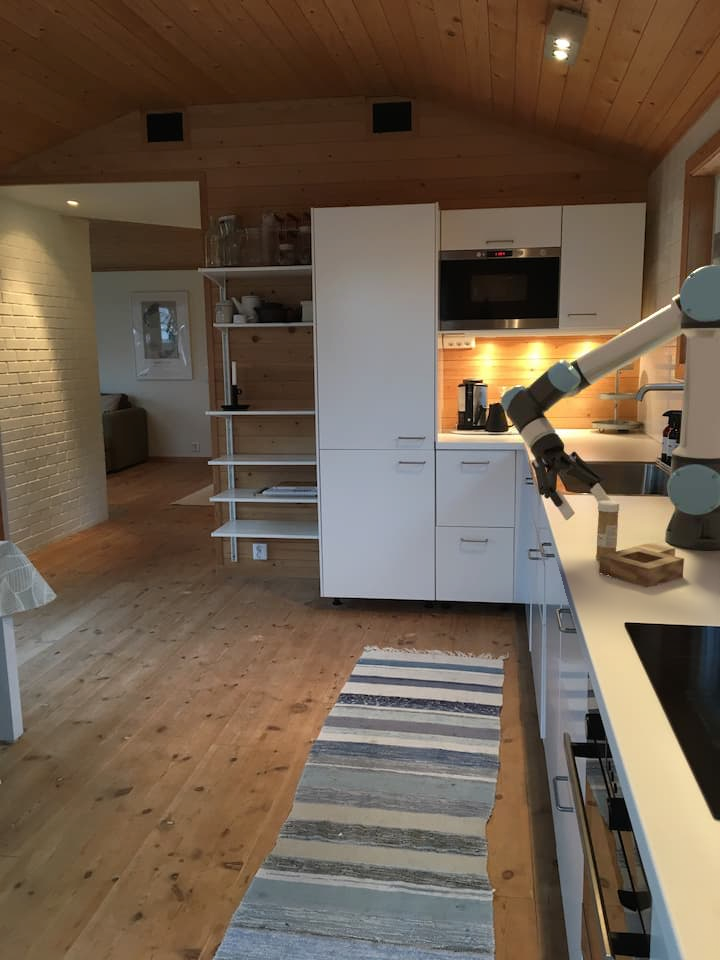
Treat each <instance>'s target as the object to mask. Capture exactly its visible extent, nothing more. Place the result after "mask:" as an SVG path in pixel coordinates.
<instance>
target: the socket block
mask: <svg viewBox="0 0 720 960" xmlns="http://www.w3.org/2000/svg"><path fill="white" fill-rule="evenodd" d="M684 563H685V558H683V557H680V556H679V557H678V556H676V555H675V556H671V555H667V554H663V553H659V552H655V551H651V550H647V549H643V548H639V547H635V546H632V547H629V548H624V549H621V550H616V552H612V553H608V554H604V555H601V556H600V560H599V570H598V574H599V573H602V574H605V575H604V576H606V575H609V576H611V577H610V578H613V577H614V578H613V579H616V578H617V580H619V579H620V581H624V582H626V583H630V584H633V585H637V586H641V587H643V586H644V588H647V587H649V588H651V586H652V587H654V586H659V585H661V583H662V584H664V583H668V582H671V581H674V580H675V581H676V580H678V579H681V578H684V567H685V566H684ZM602 574H601V575H602ZM609 576H608V577H609ZM658 584H659V585H658Z"/></svg>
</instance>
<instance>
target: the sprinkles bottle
mask: <svg viewBox="0 0 720 960" xmlns="http://www.w3.org/2000/svg"><path fill="white" fill-rule="evenodd" d="M619 511H620V503H619V502H618V501H615V500H611V501H609V500H604V501H599V502H598V501H597V512H598V518H597V519H598V521H597V533H596V534H597V535H596V537H597V538H596V555H595V559H596V560H598V561H600V556H601V555H604V554H608V553H612V552H616V551H617V545H618V544H617V543H618V528H619V523H618V522H619V519H618V517H619Z"/></svg>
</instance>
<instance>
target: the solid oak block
mask: <svg viewBox="0 0 720 960" xmlns="http://www.w3.org/2000/svg"><path fill="white" fill-rule="evenodd" d="M634 547H639V548H643V549H647V550H651V551H655V552H659V553H663V554H667V555H671V556H675V557H676V548H675V547H672V546H668V545H663V544H661V543H660V544H659V543H655V542H648V543H644V544H640V545H636V546H634Z"/></svg>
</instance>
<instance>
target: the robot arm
mask: <svg viewBox="0 0 720 960" xmlns="http://www.w3.org/2000/svg"><path fill="white" fill-rule="evenodd" d="M679 291H680V292H679V294H677V295H675V296H673V297H672V299H671V303H670V304H668V305H667V306H665V307H664V308H661V309H660V310H659V311H656V312H655V313H653V314H651V315H650V316H648V317H647V318H645V319H643V320H641V321H640V322H638V323H636V324H634V325H633V326H631V327H629V328H628V329H626V330H624V331H623V332H621V333H619V334H617V335H616V336H614V337H613V338H611V339H609V340H607V341H605V342H604V343H602V344H601V345H599V346H597V347H596V348H594V349H592V350H590V351H588V352H587V353H585V354H584V355H582V356H580V357H578V358H577V359H575V360H573V361H571V362H570V363H569V361H567V360H565V359H560V360H558V361H557V362H555V363H554V364H553V365H551V366H549V368H548V369H547V370H546V371H545V372H543V374H541V375H540V376H539V377H538V378H537V379H535V381H533V382H532V383H531V384H530V385H529V386H528V387H526V386H524V385H516V386H515V385H514V386H513V387H512V388H511V389H508V390H507V391H506V392H505V393H504V394H503V395H502V397H501V399H500V404H501V407H502V409H503V410H504V412H505V413H506V416H507V418H508V419H509V420H510V422H511V423H512V425H513V426H514V427H515V429H516V430H517V432H518V434H519V436H521V438H522V439H523V441H524V443H525V444H526V446H527V447H528V448H529V449H530V453H531V454H532V455H533V457H534V460H533V461H532V462H531V465H532V467H533V469H534V473H535V478H536V483H537V488H538V493H539V495H541V496H544V498H545V499H547V500H548V499H549V498H550V500H551V502H552V503H553V504H554V506H555V507H556V508H557V509H558V511H559V512H560V514H561V515H562V517H563V518H564V520H565V521H569V519H570V518H572V517H573V516H574V515H575V514H576V513H575V511H574V509H573V508H572V506H571V505H570V503H569V502H568V500H567V498H566V497H565V495H564V493H562V491H561V490H560V489H557V486H558V475H560V474H561V475H565V474H566V475H567V476H572V477H573V478H574V479H577V480H579V482H581V483H582V484H584V485H586V486H588V487H589V488H590V489H589V491H590V492H591V494H592V496H593V497H594V498H595V500H596V501H597V503H598V502H599V501H604V500H609V501H612V500H611V499H610V496H608V495H607V492H606V490H605V489H604V488H603V485H601V483H602V482H603V481H604V479H605V478H604V477H603V476H602V475H601V474H600V473H599V472H597V471H596V470H595V469H594V468H593V467H592V466H590V465H589V464H588V463H587V462H585V461H584V459H582V458H581V457H580V456H579V454H578V453H577V452H576V451H572V452H571V453H570V454H567V453H566V451H565V444H564V442H563V440H562V439H561V437H560V436H559V434H558V433H556V429H555V428H554V427H553V425H552V424H551V422H550V421H549V419H548V418H547V417H546V415H545V413H546V412H548V411H549V410H550V409H551V408H553V406H554V405H556V404H557V403H558V402H560V401H562V400H563V399H566V398H571V397H574V396H576V395H578V394H580V393H581V392H582V391H583V390H585V389H587V388H589V387H591V386H592V385H593V384H596V383H597V382H600V381H601V380H602V379H604V378H606V377H608V376H610V375H612V374H614V373H615V372H617V371H618V370H620V369H623V368H624V367H625V366H628V365H630V364H631V363H632V362H635V361H637V360H638V359H640V358H642V357H644V356H645V355H647V354H649V353H650V352H652V351H654V350H656V349H658V348H660V347H661V346H663V345H666V344H667V343H669V342H670V341H672V340H674V339H675V338H678V337H679V336H681V335H684V336H685V337H686V349H685V364H684V378H683V379H684V380H683V393H682V394H683V395H682V396H683V397H682V407H681V421H680V422H681V424H680V437H679V438H680V439H679V445H678V446H677V447H676V448H675V449H673V450H672V452H671V461H670V462H671V464H670V475H669V477H668V480H667V484H666V490H667V491H666V492H667V494H668V495H667V496H668V499H669V501H670V502H671V504H673V506H674V509H673V512H672V515H671V517H670V520H669V522H668V525H667V527H666V529H665V537H664V540H665V542H667V543H668V544H671V545H673V546H676V547H680V548H687V549H692V550H693V549H694V550H703V551H707V550H708V551H714V550H715V551H716V550H720V264H718V265H717V264H711V265H704V266H701V267H699V268H697V269H696V270H694V271H693V272H691V273H690V274H689V275H688V276H687V278H685V280H684V282H683V283H682V286H681V288H680V290H679Z"/></svg>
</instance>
